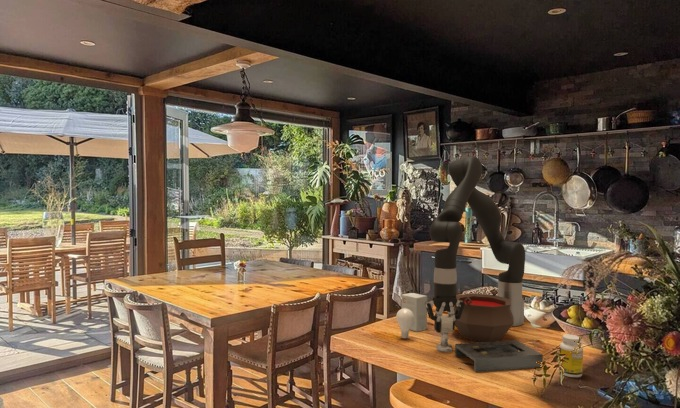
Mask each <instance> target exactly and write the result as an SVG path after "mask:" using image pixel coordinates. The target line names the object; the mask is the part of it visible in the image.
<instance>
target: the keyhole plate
mask: <svg viewBox="0 0 680 408" xmlns="http://www.w3.org/2000/svg"><path fill="white" fill-rule="evenodd" d="M543 356H544V355H543V353H541V352H539V351H538V350H536V349H533V348H532V347H530V346H528V345H526V344H524V343H522V342H521V341H519V340H517V339H514V340H500V341H494V342H479V341H476V342H462V343H454V357H456V358H461V357H463V358H465V357H468V358H470V359H471V360H472V361H473V362H474V363H473V364H474V365H473V372H475V373H485V372H499V371H512V370H515V371H516V370H524V369H525V370H527V369H536V368H535V367H540V366H541V365H540V364H538V363H536V361H539V362H544V360H543V359H544V357H543Z"/></svg>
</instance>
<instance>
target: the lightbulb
mask: <svg viewBox="0 0 680 408" xmlns="http://www.w3.org/2000/svg"><path fill="white" fill-rule="evenodd" d="M395 319H396V322H397V323H398V325H399V327H400V328H399V329H400V337H401V338H402V339H404V340H406V339H409V336H410V335H409V333H410V332H409V331H410V330H409V329H410V326H411V324H412V323H413V320H414V315H413V313H412V311H411V310H409V309H407V308H403V309H402V308H401V309H399V310H398V311H397V313H396V317H395Z"/></svg>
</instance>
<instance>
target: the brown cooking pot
mask: <svg viewBox="0 0 680 408" xmlns="http://www.w3.org/2000/svg"><path fill="white" fill-rule="evenodd" d="M494 292H495V293H494ZM490 293H491V294H484V293H473V292H472V293H465V294H464V293H463V294H456V298H457V300H461V301H463V302H465V305H464V308H463V311H462V314H461V318H460V319H456V320H455V329H457V331H458V332H459V333H460V335H461V337H462V338H466V339H467V340H469V341H472V342H494V341H502V339H503V338H504V336H505V335H506V334H507V333H508V332H509V330H510V329H511V328H512V327H513V326H512V325H513V324H514V317H513V315H512V312H511V310H510V306H511V300H510V299H507V298H503V297H500V296H498V290H496V288H493V289H492V290H491V291H490ZM456 304H457V303H456ZM456 308H457V305H455V306H454V312H455V311H456Z"/></svg>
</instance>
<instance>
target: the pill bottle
mask: <svg viewBox="0 0 680 408" xmlns="http://www.w3.org/2000/svg"><path fill="white" fill-rule="evenodd" d="M579 337H580V336H579V335H575V334H568V333H567V334H566V333H564V334H562V338H561V339H562V342H560V343H559V350H558V352H559V354H568V355H567V356H566V357H564V358H563V359H564V360H565V361H567V362H568V363H565V362H562V363H561V365H563V367H564V368H563V369H564V375H563V376H564V377H568V378H581V377H582V376H583V367H584V366H583V365H584V364H583V363H584V362H583V361H584V348H583V347H584V346H582V347H581V348H580V349H579V350H578V353H577V356H576V358H575V351H573V352H571V351H572V350H573V349H574V348H575V347H578V344H577V343H576V342H578V340H579ZM574 341H575V342H574ZM570 352H571V353H570ZM569 353H570V354H569ZM559 354H558V355H559ZM560 370H561V367H559V366H558V371H559V372H558V373H560Z"/></svg>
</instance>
